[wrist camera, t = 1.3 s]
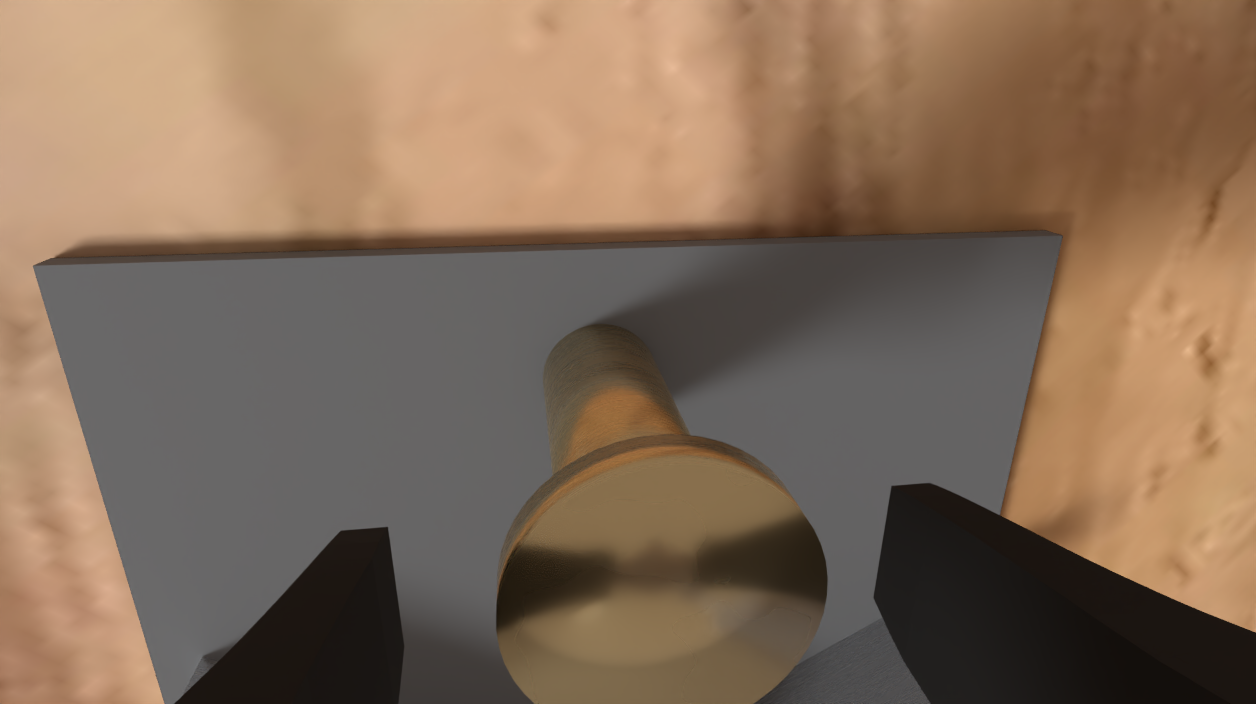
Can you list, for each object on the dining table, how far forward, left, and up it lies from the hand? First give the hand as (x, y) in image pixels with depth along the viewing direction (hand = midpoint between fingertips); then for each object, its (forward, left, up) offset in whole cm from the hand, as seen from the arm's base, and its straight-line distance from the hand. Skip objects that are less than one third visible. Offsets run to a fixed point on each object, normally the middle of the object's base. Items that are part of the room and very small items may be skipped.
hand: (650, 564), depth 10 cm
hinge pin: (0, 0, -7) cm, 7 cm away
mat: (0, +7, -8) cm, 10 cm away
